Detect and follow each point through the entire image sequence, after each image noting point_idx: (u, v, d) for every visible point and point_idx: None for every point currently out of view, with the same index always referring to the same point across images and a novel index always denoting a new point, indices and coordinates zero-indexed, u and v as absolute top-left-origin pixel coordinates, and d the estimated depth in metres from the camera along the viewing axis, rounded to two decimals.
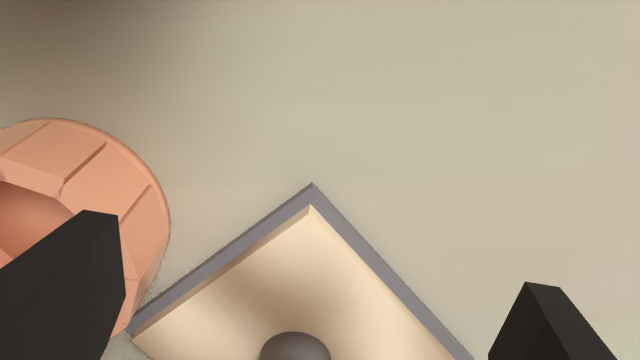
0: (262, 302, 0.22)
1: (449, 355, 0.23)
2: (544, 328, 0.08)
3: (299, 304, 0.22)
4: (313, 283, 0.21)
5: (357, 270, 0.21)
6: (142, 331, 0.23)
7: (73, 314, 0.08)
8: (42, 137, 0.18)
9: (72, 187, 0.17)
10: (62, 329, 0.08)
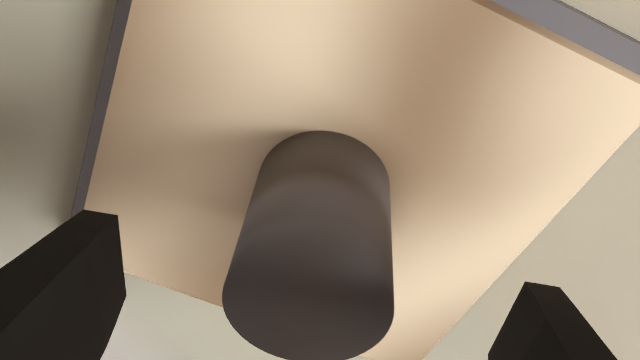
0: (427, 94, 0.11)
1: None
2: (544, 328, 0.08)
3: (448, 152, 0.12)
4: (506, 157, 0.12)
5: (556, 205, 0.12)
6: None
7: (73, 314, 0.08)
8: None
9: None
10: (62, 329, 0.08)
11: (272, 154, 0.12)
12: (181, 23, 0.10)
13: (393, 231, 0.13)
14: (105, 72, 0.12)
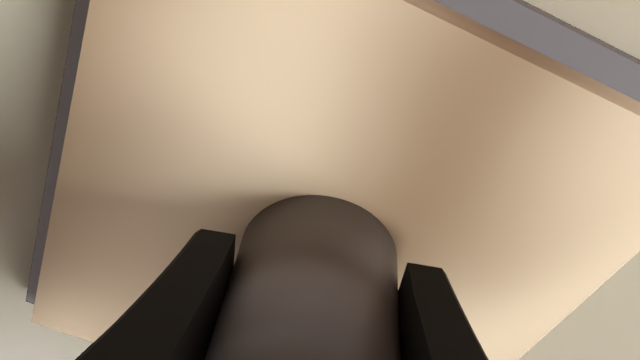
0: (443, 156, 0.09)
1: None
2: (412, 307, 0.08)
3: (468, 221, 0.10)
4: (537, 227, 0.10)
5: (595, 281, 0.10)
6: None
7: (206, 336, 0.08)
8: None
9: None
10: (198, 351, 0.08)
11: (256, 223, 0.10)
12: (143, 71, 0.09)
13: None
14: (59, 122, 0.10)
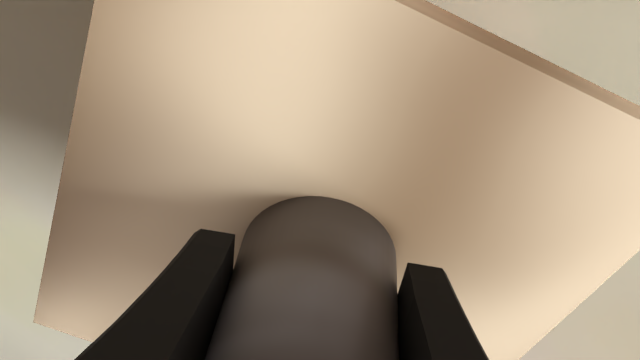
0: (441, 157, 0.09)
1: None
2: (413, 307, 0.08)
3: (466, 223, 0.10)
4: (535, 229, 0.10)
5: (593, 282, 0.10)
6: None
7: (205, 335, 0.08)
8: None
9: None
10: (198, 351, 0.08)
11: (257, 223, 0.10)
12: (145, 73, 0.09)
13: None
14: None
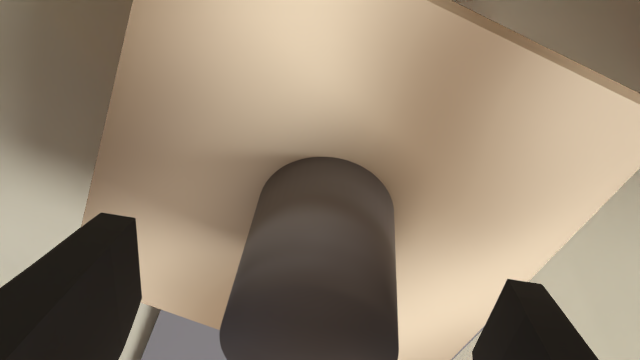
0: (433, 120, 0.10)
1: None
2: (524, 325, 0.08)
3: (455, 179, 0.11)
4: (515, 184, 0.11)
5: (567, 233, 0.12)
6: None
7: (93, 317, 0.08)
8: None
9: None
10: (82, 332, 0.08)
11: (272, 181, 0.11)
12: (178, 47, 0.10)
13: (397, 257, 0.13)
14: None
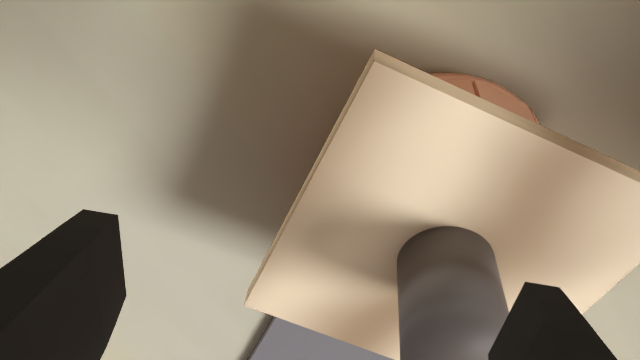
0: (530, 205, 0.15)
1: None
2: (544, 328, 0.08)
3: (541, 242, 0.16)
4: (582, 245, 0.16)
5: (617, 277, 0.17)
6: (401, 71, 0.14)
7: (73, 314, 0.08)
8: None
9: None
10: (62, 329, 0.08)
11: (414, 242, 0.16)
12: (361, 158, 0.15)
13: None
14: (276, 319, 0.26)
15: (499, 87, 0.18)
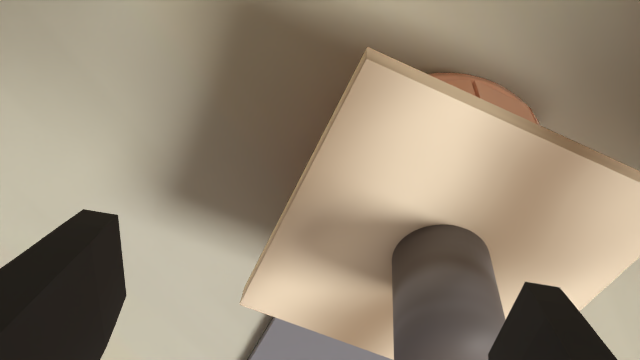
0: (524, 203, 0.15)
1: None
2: (544, 328, 0.08)
3: (535, 239, 0.16)
4: (578, 243, 0.16)
5: (612, 275, 0.17)
6: (393, 69, 0.14)
7: (73, 314, 0.08)
8: None
9: None
10: (62, 329, 0.08)
11: (408, 241, 0.16)
12: (355, 156, 0.15)
13: None
14: (276, 319, 0.26)
15: (499, 87, 0.18)
